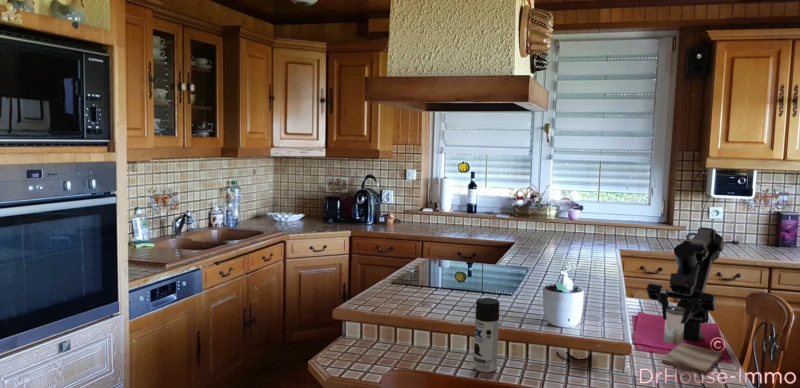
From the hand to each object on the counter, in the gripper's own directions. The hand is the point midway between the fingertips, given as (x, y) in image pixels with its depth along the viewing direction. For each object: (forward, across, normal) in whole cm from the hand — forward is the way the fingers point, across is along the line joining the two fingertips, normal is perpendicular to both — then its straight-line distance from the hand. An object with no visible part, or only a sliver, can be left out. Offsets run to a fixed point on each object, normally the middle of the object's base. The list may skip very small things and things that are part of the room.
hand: (673, 321), depth 180 cm
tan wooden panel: (+5, +5, +13) cm, 15 cm away
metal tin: (+4, 0, +6) cm, 7 cm away
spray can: (+37, -40, -20) cm, 58 cm away
